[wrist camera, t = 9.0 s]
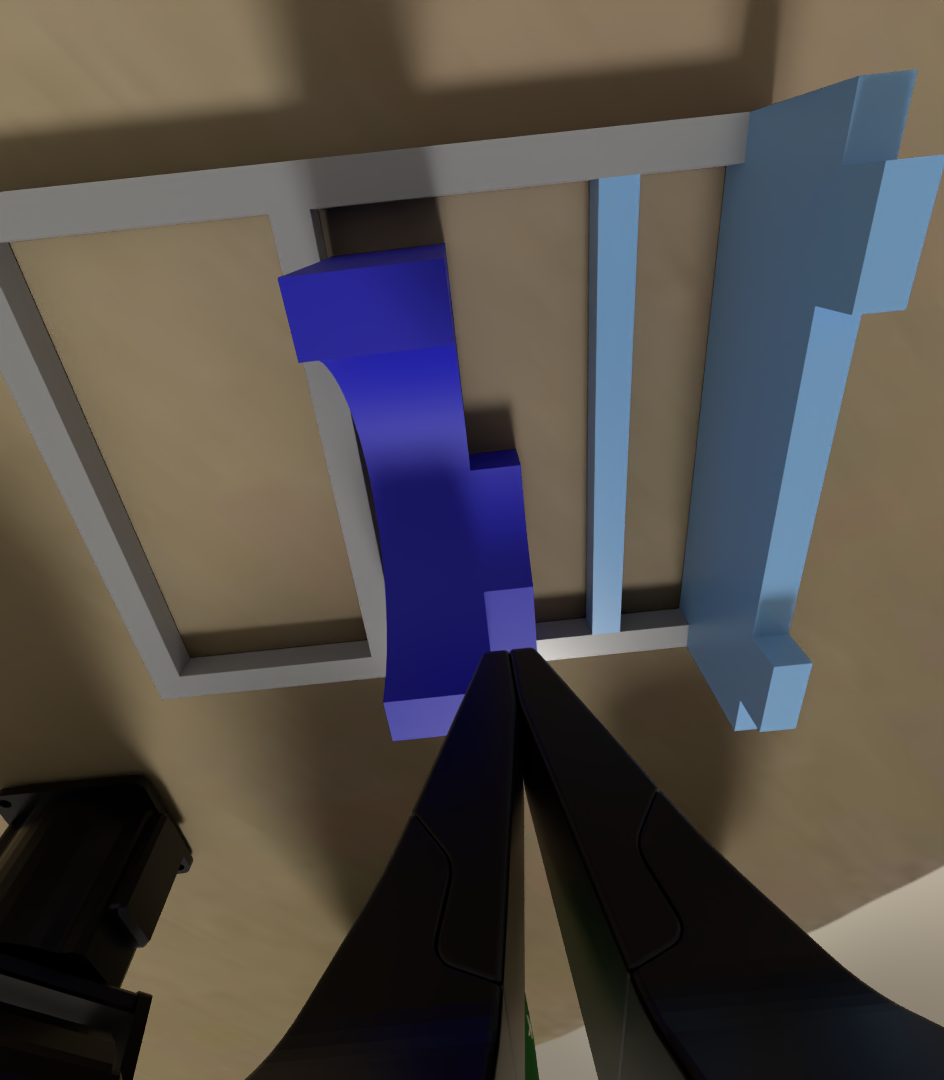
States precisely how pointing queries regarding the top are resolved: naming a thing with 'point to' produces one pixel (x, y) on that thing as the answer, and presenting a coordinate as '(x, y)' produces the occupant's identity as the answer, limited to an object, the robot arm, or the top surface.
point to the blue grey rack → (729, 378)
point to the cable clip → (420, 475)
